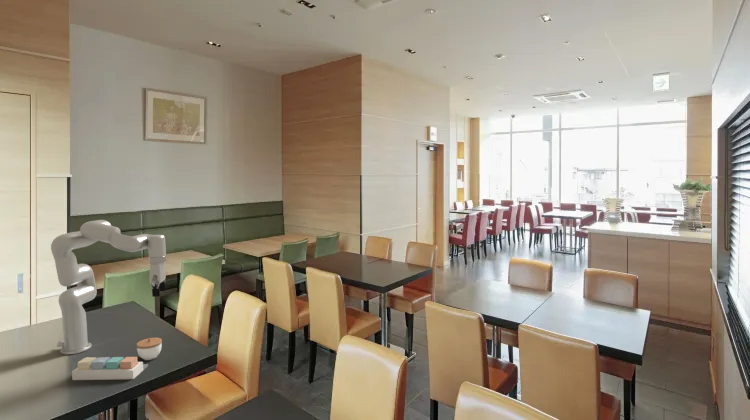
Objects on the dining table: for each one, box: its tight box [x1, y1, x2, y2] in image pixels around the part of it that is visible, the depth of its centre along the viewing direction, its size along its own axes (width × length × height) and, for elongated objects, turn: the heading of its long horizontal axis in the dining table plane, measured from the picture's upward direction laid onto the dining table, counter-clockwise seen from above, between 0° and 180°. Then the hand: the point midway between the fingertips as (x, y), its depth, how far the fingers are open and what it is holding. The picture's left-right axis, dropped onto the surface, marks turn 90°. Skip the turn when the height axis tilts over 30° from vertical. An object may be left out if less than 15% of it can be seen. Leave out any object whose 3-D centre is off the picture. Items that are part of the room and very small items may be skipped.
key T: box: [106, 356, 125, 369], centre depth 173 cm, size 5×5×5 cm
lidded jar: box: [135, 337, 163, 361], centre depth 190 cm, size 11×11×9 cm
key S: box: [92, 356, 111, 370], centre depth 173 cm, size 5×5×5 cm
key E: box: [77, 356, 97, 370], centre depth 173 cm, size 5×5×5 cm
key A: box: [120, 356, 139, 369], centre depth 173 cm, size 5×5×5 cm
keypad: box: [71, 361, 149, 381], centre depth 175 cm, size 26×12×4 cm, turn 92°
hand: (159, 293), depth 195 cm, fingers open, 9 cm apart
